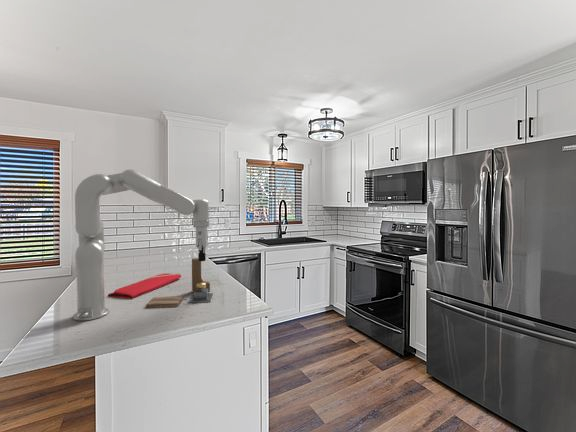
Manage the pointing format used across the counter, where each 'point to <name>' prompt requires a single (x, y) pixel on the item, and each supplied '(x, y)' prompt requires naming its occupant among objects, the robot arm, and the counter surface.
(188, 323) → the counter surface
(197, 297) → the plate
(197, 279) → the wooden block
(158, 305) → the board
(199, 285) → the button
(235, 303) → the counter surface
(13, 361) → the counter surface
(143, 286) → the dish drying mat
